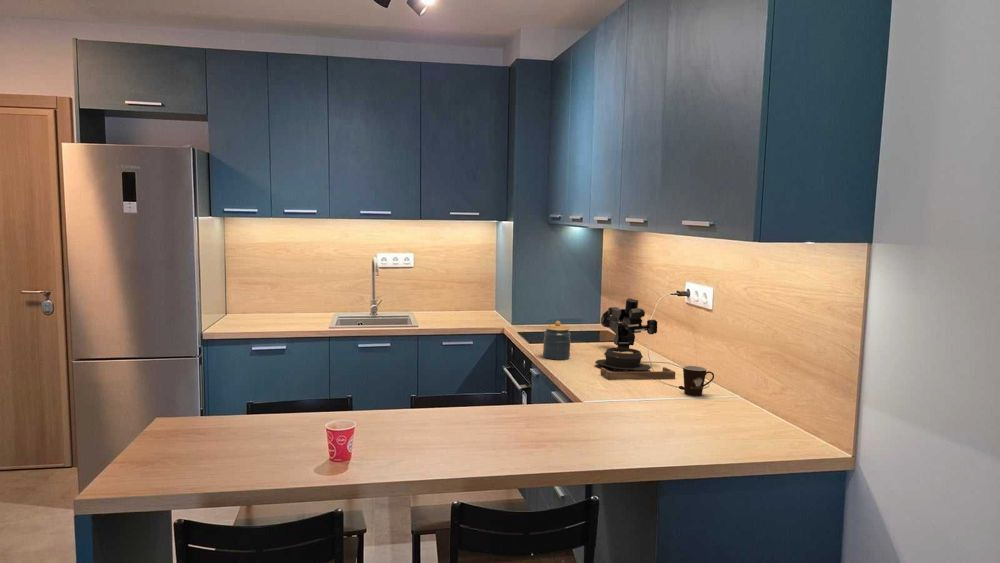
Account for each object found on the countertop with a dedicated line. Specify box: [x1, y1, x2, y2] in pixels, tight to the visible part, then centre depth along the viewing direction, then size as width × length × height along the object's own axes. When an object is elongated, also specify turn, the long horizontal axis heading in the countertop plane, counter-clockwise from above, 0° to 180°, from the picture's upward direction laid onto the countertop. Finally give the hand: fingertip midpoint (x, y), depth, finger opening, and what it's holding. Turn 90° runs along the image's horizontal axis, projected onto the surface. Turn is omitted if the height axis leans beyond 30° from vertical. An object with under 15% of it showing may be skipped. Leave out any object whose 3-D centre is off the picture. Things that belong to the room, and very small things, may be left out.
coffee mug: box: [682, 365, 715, 397], centre depth 246 cm, size 12×9×10 cm
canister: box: [542, 320, 572, 361], centre depth 306 cm, size 13×13×18 cm
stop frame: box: [599, 366, 676, 381], centre depth 272 cm, size 9×30×3 cm, turn 103°
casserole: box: [594, 347, 652, 372], centre depth 287 cm, size 25×19×8 cm
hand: (642, 334), depth 288 cm, fingers open, 9 cm apart
